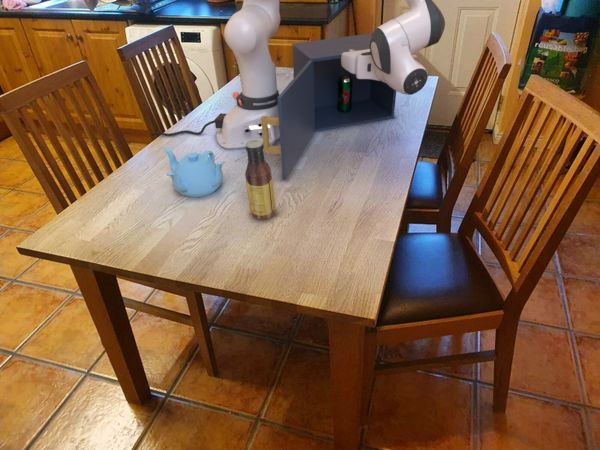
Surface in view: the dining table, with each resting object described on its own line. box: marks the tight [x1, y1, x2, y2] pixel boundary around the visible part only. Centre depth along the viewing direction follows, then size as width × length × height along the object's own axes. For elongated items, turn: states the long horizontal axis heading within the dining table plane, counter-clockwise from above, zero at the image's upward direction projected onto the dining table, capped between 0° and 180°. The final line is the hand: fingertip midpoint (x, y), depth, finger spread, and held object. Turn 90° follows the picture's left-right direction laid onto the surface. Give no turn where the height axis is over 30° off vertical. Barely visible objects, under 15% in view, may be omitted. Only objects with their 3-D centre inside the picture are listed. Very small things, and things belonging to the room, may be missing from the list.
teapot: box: [163, 147, 226, 198], centre depth 123 cm, size 15×15×10 cm
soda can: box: [337, 75, 353, 113], centre depth 159 cm, size 5×5×12 cm
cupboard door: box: [261, 60, 315, 181], centre depth 132 cm, size 7×30×24 cm, turn 163°
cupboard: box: [291, 32, 397, 133], centre depth 154 cm, size 18×30×24 cm, turn 108°
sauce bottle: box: [244, 139, 276, 221], centre depth 109 cm, size 7×6×20 cm
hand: (365, 50), depth 136 cm, fingers open, 8 cm apart
